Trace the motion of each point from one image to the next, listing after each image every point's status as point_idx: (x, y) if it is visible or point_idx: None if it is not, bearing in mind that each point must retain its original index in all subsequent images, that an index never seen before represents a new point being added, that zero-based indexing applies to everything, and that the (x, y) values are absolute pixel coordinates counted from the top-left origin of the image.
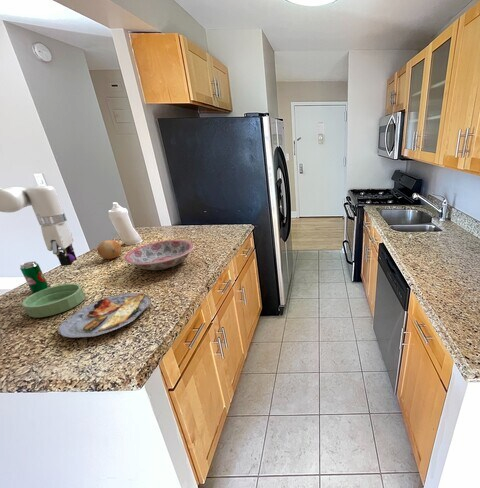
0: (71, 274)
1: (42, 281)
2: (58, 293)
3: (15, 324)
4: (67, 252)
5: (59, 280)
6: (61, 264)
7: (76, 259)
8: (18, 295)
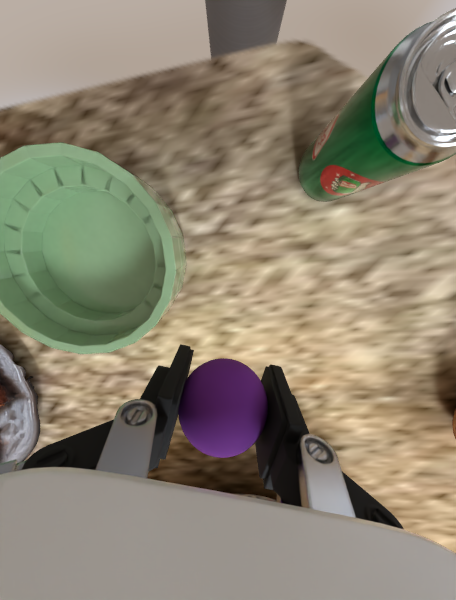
0: (413, 272)
1: (322, 185)
2: (156, 260)
3: (25, 135)
4: (276, 449)
5: (378, 233)
6: (177, 352)
7: None
8: (327, 85)
